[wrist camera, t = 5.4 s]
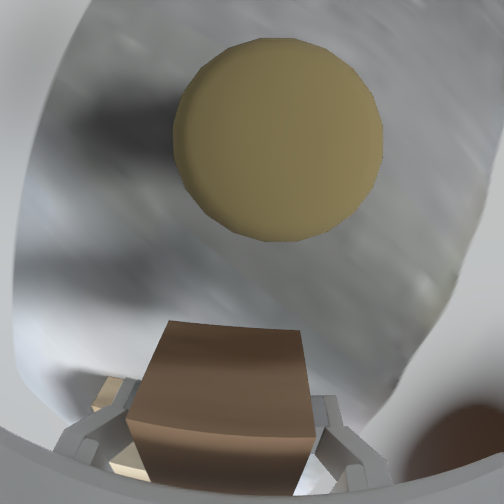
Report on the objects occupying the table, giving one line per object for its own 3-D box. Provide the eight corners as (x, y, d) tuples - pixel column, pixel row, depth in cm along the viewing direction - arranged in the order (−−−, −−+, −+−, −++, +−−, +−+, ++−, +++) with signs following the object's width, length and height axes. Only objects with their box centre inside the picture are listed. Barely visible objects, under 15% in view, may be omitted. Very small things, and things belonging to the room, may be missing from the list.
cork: (196, 169, 17) (98, 209, 6) (243, 72, 15) (213, -32, 4) (294, 215, 17) (338, 319, 7) (343, 121, 16) (457, 94, 5)
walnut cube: (168, 320, 12) (125, 418, 7) (300, 330, 12) (316, 437, 7) (178, 404, 13) (155, 492, 9) (284, 413, 13) (288, 504, 9)
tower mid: (106, 417, 19) (88, 455, 15) (196, 432, 19) (187, 477, 15) (129, 464, 21) (117, 498, 18) (205, 477, 21) (199, 514, 17)
